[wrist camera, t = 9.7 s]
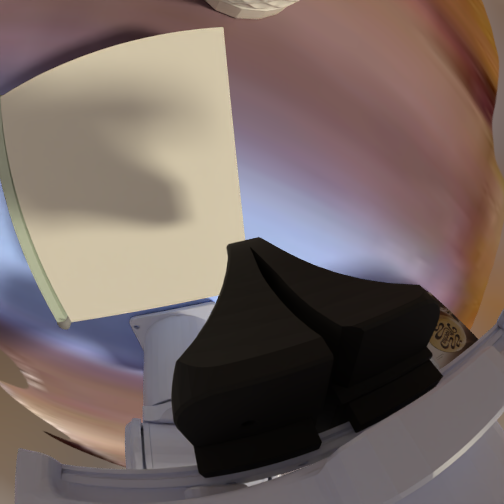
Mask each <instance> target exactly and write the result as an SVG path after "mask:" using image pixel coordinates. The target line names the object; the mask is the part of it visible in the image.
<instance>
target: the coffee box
mask: <svg viewBox="0 0 504 504" xmlns="http://www.w3.org/2000/svg"><path fill="white" fill-rule="evenodd" d="M428 293H429V294H430V295H431V296H432V297H433V298H434V299H435V300H436V301H437V302H438V303H439V306H440V316H439V320H438V323H437V326H436V328H435V330H434V332H433V335H432V337H431V339H430V341H429V343H428V345H427V347H428V349H429V350H430V351H431V352H432V355H433V356H432V358H431V359H430V360H431V362H432V363H433V364H434V365H435V366H436V368H437V369H438V370H440V369H441V368H443V367H444V366H446V365H447V364H448V363H450V362H451V361H452V360H454V359H455V358H456V357H458V356H459V355H460V354H462V353H463V352H464V351H465V350H467V349H468V348H469V347H470V346H471V345H473V344H474V343H475V342H476V341H477V340H478V339H477V338H476V337H475V335H474V334H472V332H470V330H469V329H468V328H467V327H466V326H465V325H464V324H463V323H462V322H461V321H460V320H459V319H457V318H456V316H454V315H453V313H452V312H450V311H449V310H448V309H447V308H446V307H445V306H444V305H443V304H442V303H441V302H440V301H439V300H438V299H436V298H435V297H434V296H433V295H432V294H431V293H430V292H428Z"/></svg>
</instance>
